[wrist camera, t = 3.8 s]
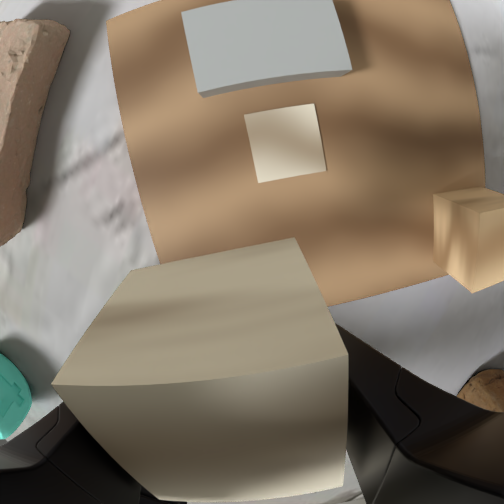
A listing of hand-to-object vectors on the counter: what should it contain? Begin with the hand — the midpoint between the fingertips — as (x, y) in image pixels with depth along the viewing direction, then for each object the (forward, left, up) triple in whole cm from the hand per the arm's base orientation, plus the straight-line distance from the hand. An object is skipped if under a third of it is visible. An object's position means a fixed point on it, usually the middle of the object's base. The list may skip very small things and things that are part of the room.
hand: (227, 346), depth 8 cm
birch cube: (0, 0, -1) cm, 1 cm away
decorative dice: (-11, +32, -12) cm, 36 cm away
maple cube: (-2, -16, -10) cm, 19 cm away
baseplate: (+5, -7, -11) cm, 14 cm away
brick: (+13, +16, -12) cm, 24 cm away
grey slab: (+11, -4, -10) cm, 15 cm away
